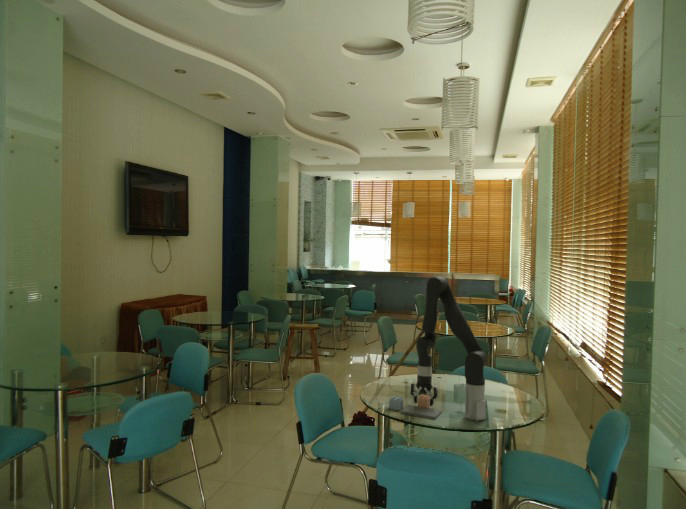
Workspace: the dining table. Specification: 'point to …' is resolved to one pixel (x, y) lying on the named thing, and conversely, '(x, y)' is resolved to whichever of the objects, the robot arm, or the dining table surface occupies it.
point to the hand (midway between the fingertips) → (423, 404)
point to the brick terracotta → (424, 401)
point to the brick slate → (396, 403)
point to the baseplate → (421, 412)
